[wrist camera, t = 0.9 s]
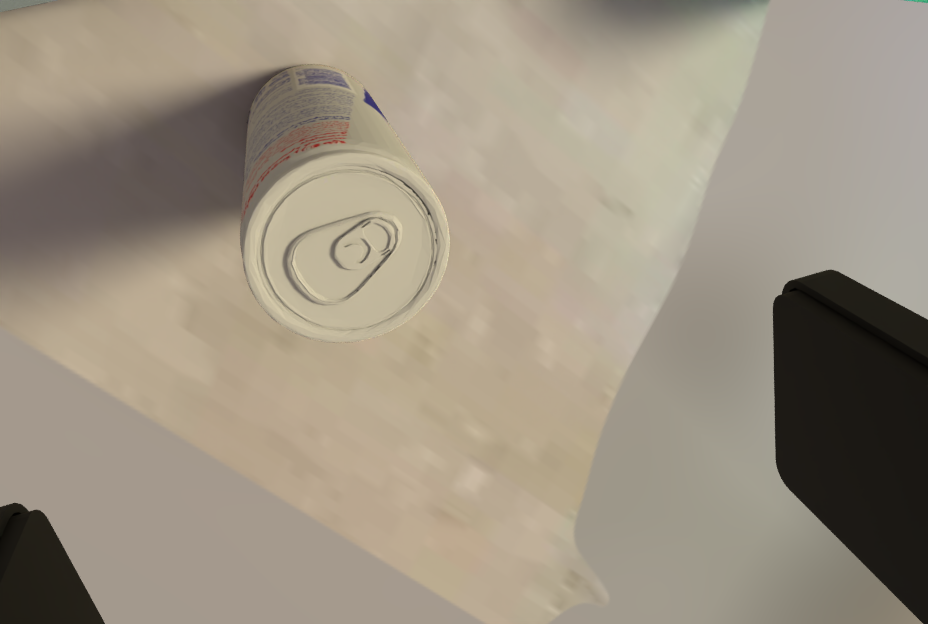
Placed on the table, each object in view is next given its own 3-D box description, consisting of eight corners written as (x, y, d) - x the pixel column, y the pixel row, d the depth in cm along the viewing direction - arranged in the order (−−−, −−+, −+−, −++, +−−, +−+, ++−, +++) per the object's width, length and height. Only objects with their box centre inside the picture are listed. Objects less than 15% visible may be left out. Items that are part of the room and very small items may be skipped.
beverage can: (230, 167, 34) (210, 318, 21) (271, 40, 32) (279, 116, 19) (353, 209, 36) (406, 371, 23) (398, 92, 34) (485, 193, 21)
